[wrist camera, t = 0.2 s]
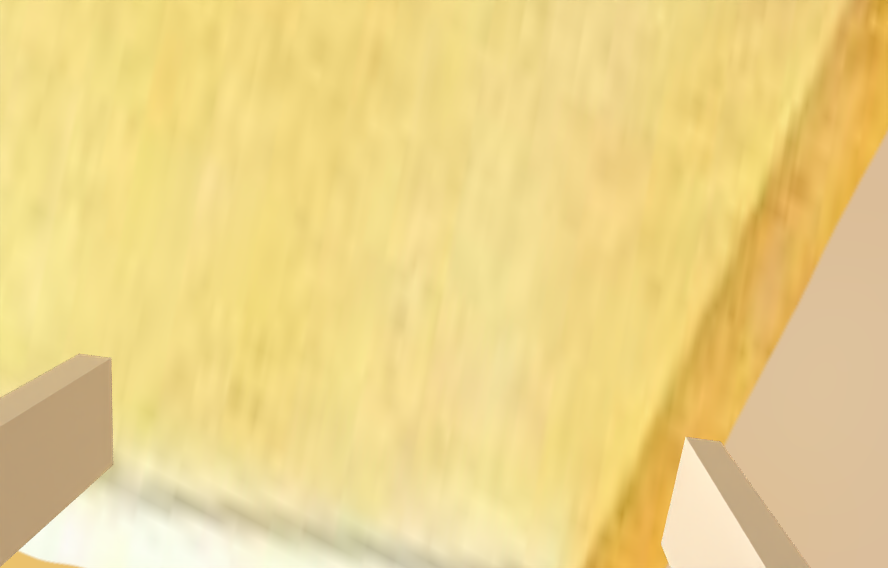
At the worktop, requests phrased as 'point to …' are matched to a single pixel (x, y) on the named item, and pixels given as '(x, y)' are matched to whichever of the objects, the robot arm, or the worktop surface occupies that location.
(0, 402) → the robot arm
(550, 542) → the worktop surface
